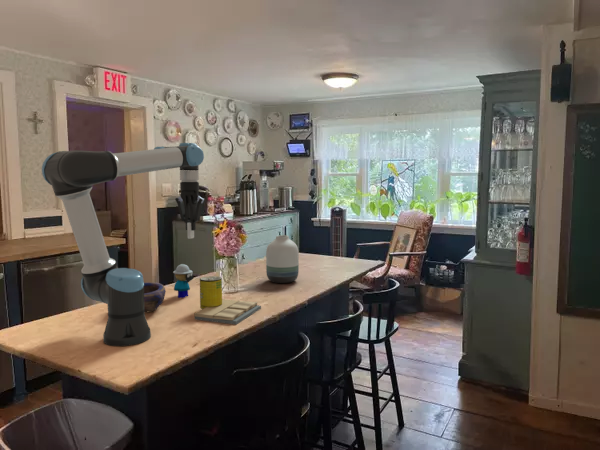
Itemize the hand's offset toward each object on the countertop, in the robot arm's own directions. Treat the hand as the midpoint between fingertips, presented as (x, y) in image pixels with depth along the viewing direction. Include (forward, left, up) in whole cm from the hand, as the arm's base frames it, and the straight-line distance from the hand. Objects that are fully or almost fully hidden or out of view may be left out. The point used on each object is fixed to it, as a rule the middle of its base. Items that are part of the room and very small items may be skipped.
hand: (190, 238), depth 192 cm
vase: (+57, -18, -30) cm, 67 cm away
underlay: (-3, -19, -29) cm, 35 cm away
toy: (+13, +13, -30) cm, 35 cm away
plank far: (+3, -22, -28) cm, 36 cm away
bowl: (-11, +16, -30) cm, 36 cm away
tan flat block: (-9, -22, -28) cm, 37 cm away
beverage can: (-1, -10, -28) cm, 30 cm away
